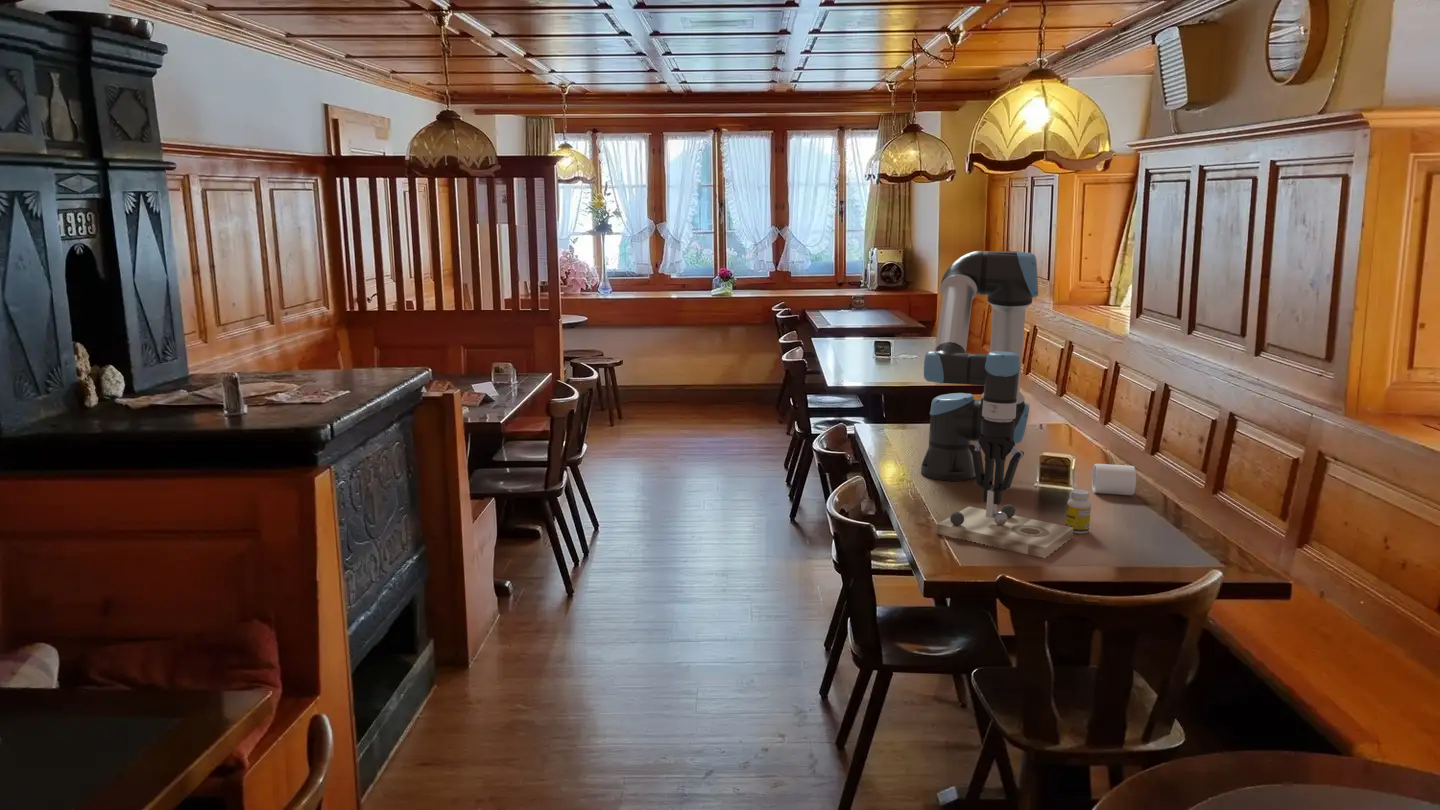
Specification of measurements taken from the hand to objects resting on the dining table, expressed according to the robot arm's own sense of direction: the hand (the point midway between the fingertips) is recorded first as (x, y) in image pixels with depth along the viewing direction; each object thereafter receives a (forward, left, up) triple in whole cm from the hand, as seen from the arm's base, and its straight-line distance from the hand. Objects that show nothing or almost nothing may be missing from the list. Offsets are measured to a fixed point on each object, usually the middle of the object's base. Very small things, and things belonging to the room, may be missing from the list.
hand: (990, 516), depth 239 cm
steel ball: (+2, 0, 0) cm, 2 cm away
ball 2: (+2, +7, 0) cm, 7 cm away
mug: (+12, +55, -5) cm, 57 cm away
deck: (+4, 0, -4) cm, 5 cm away
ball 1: (-5, -7, 0) cm, 9 cm away
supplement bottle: (+16, +15, -4) cm, 22 cm away
